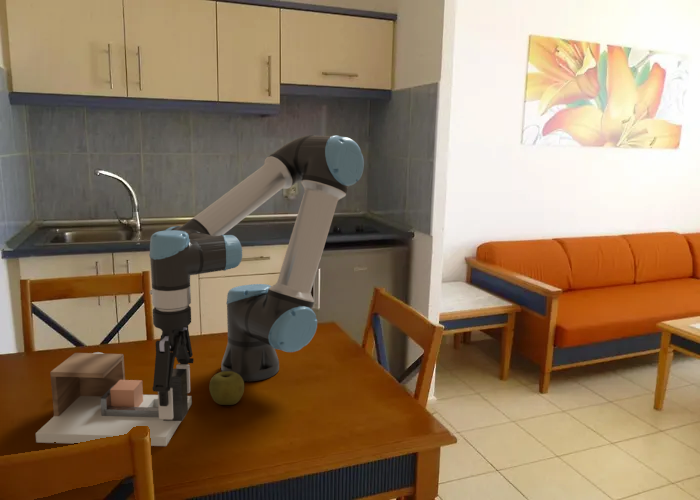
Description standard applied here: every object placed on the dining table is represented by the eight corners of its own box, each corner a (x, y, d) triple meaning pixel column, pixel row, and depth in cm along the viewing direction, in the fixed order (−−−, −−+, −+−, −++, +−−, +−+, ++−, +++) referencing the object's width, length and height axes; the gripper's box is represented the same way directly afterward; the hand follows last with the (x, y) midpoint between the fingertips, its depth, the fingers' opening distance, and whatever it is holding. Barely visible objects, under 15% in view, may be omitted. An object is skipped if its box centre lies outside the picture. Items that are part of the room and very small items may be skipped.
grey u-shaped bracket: (192, 404, 124) (191, 362, 122) (182, 421, 117) (180, 376, 115) (113, 402, 124) (111, 360, 122) (98, 418, 117) (95, 374, 115)
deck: (191, 404, 129) (191, 396, 128) (166, 446, 111) (165, 437, 111) (79, 400, 129) (79, 392, 128) (36, 442, 111) (35, 433, 111)
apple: (214, 395, 134) (214, 367, 132) (247, 396, 133) (247, 368, 132) (205, 410, 126) (204, 380, 125) (240, 411, 126) (240, 382, 125)
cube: (143, 401, 125) (142, 380, 124) (134, 411, 120) (133, 390, 119) (121, 400, 125) (119, 379, 124) (111, 411, 120) (110, 389, 119)
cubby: (125, 395, 128) (123, 354, 126) (105, 417, 118) (103, 373, 116) (78, 393, 128) (75, 352, 126) (54, 416, 118) (50, 371, 116)
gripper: (172, 290, 126) (175, 380, 130) (131, 324, 103) (136, 432, 107) (205, 291, 126) (207, 381, 130) (171, 325, 103) (175, 434, 107)
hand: (175, 404), depth 118 cm, fingers open, 11 cm apart
